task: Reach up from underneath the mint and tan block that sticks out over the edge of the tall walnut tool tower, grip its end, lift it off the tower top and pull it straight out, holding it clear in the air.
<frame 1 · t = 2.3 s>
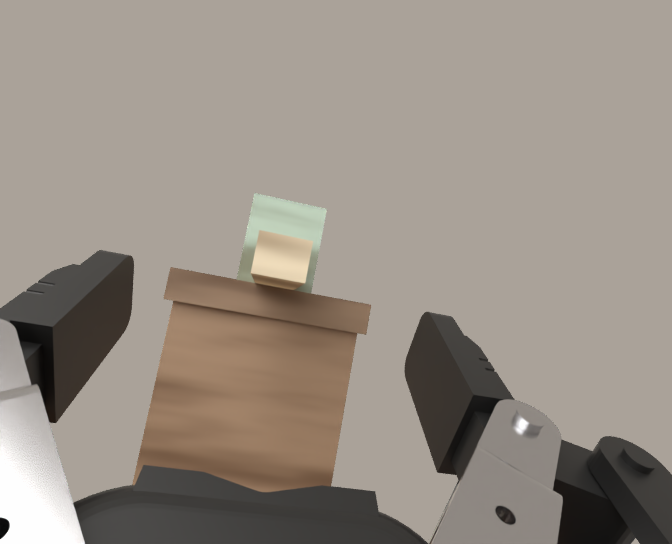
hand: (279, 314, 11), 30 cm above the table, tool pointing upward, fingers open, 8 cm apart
mint and tan block: (274, 285, 26), point 32 cm above the table, touching tool tower
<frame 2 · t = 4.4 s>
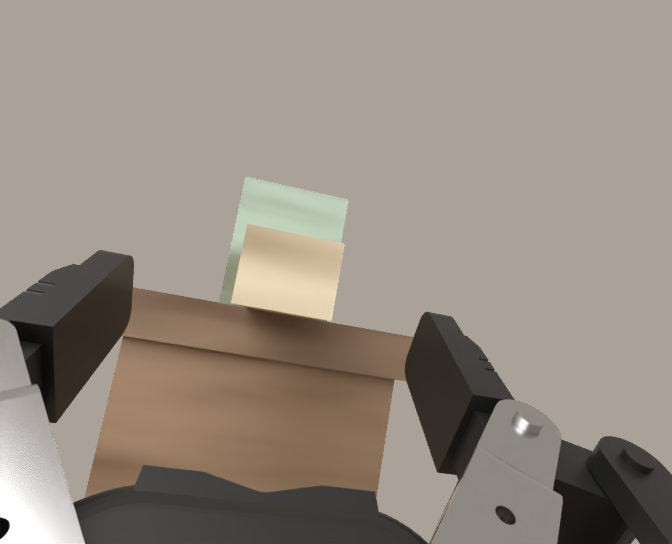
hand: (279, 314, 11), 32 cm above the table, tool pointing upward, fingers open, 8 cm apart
mint and tan block: (275, 312, 17), point 32 cm above the table, touching tool tower
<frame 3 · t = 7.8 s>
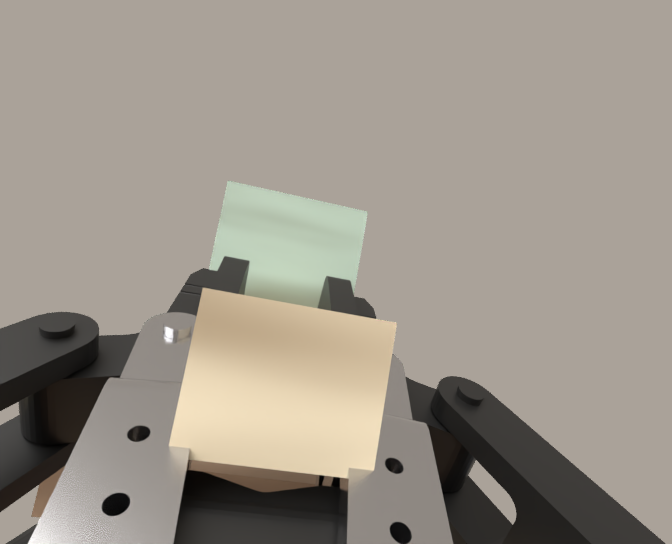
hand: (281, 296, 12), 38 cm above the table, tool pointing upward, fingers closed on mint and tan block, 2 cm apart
mint and tan block: (267, 377, 12), point 36 cm above the table, touching gripper
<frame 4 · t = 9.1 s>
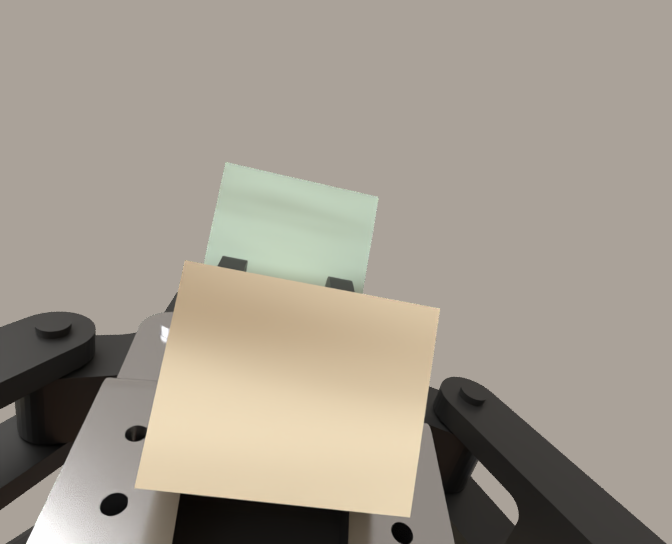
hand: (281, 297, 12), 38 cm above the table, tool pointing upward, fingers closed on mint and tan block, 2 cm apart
mint and tan block: (269, 378, 11), point 36 cm above the table, touching gripper
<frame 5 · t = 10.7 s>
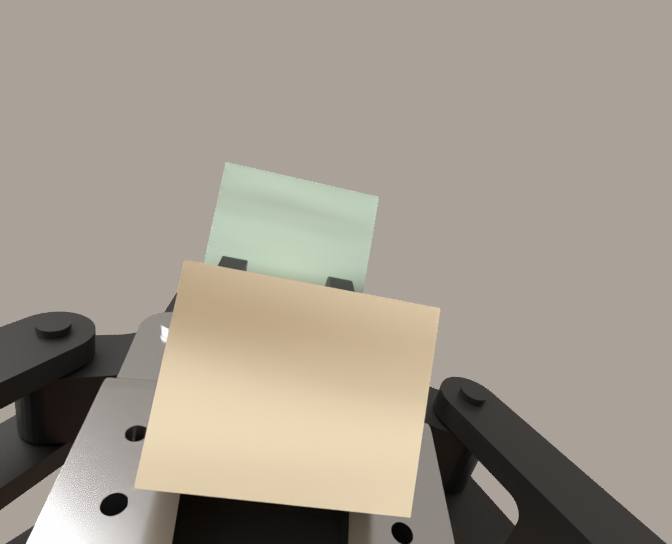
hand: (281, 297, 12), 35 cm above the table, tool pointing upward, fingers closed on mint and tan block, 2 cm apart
mint and tan block: (269, 378, 11), point 33 cm above the table, touching gripper
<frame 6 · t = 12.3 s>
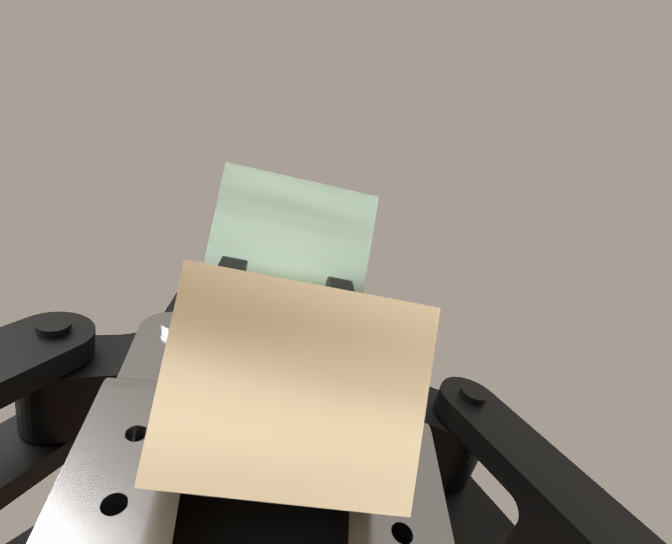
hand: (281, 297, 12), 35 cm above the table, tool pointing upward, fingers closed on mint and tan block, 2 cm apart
mint and tan block: (269, 378, 11), point 33 cm above the table, touching gripper
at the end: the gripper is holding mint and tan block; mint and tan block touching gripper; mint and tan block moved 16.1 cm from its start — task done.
